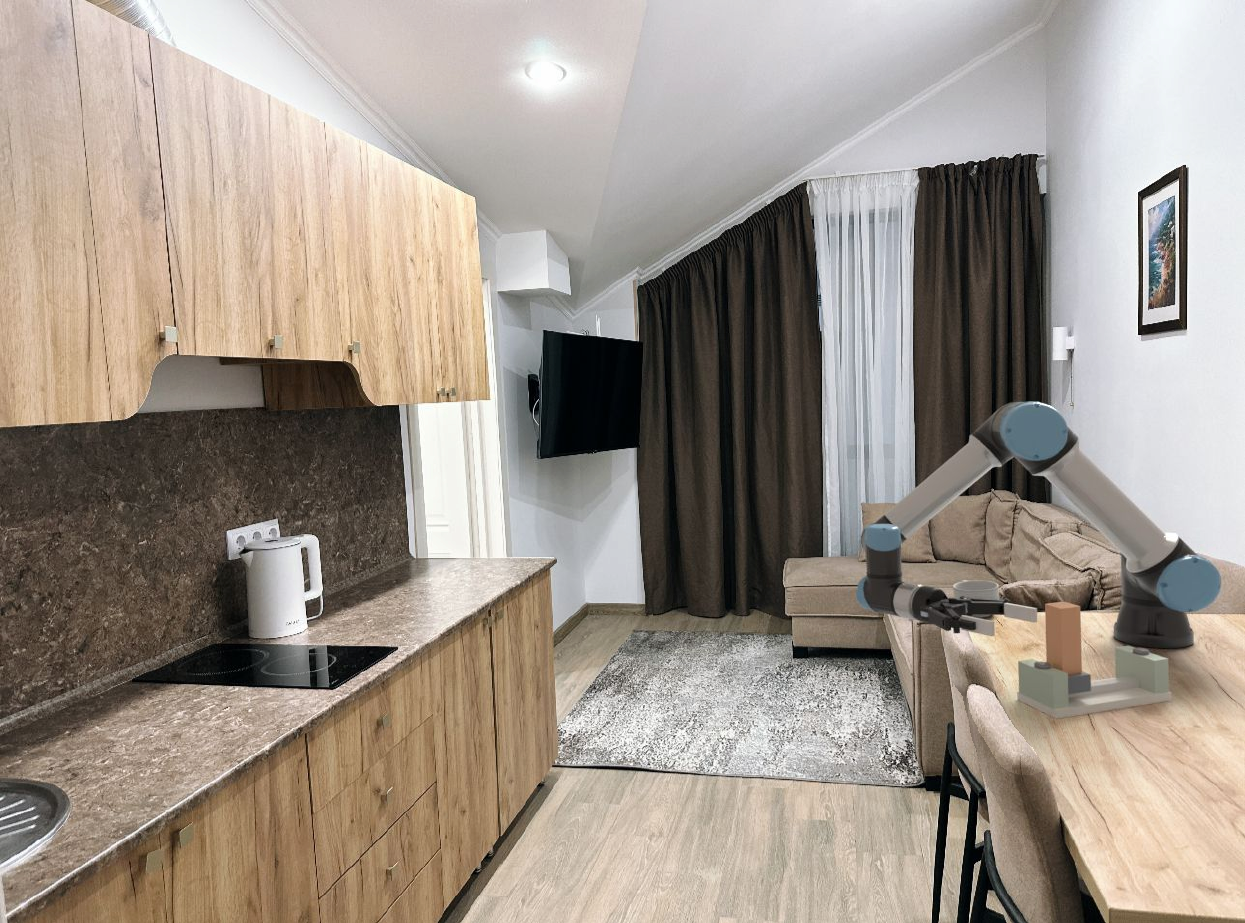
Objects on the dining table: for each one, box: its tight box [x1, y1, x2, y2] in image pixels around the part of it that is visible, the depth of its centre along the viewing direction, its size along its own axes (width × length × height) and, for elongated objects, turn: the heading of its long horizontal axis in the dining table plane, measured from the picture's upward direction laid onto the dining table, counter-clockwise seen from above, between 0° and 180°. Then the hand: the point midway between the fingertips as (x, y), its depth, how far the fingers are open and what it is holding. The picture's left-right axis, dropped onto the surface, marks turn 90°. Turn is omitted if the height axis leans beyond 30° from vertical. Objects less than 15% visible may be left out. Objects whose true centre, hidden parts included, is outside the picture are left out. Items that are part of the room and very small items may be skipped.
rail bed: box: [1016, 676, 1172, 720], centre depth 155 cm, size 24×10×3 cm, turn 103°
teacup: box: [952, 579, 1000, 619], centre depth 218 cm, size 14×11×8 cm
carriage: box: [1044, 601, 1092, 694], centre depth 153 cm, size 5×7×15 cm
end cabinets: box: [1017, 645, 1170, 709], centre depth 155 cm, size 24×9×7 cm, turn 102°
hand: (1015, 622), depth 161 cm, fingers open, 13 cm apart
